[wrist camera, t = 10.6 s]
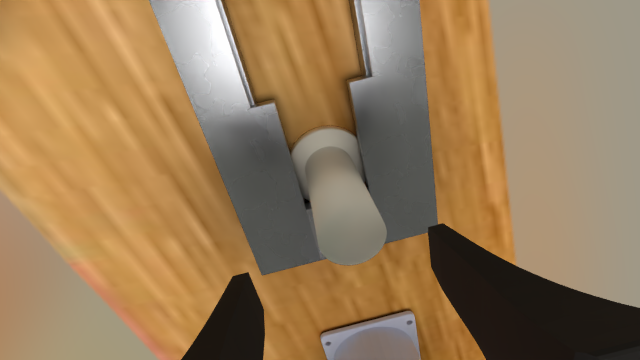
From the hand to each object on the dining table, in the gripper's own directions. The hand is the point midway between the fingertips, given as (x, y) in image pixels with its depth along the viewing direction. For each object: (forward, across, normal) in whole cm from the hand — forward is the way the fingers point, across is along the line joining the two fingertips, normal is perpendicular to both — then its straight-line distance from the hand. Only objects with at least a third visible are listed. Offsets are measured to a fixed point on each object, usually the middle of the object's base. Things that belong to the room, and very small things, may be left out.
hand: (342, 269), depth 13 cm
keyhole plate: (+10, -1, -5) cm, 11 cm away
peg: (+10, -1, 0) cm, 10 cm away
